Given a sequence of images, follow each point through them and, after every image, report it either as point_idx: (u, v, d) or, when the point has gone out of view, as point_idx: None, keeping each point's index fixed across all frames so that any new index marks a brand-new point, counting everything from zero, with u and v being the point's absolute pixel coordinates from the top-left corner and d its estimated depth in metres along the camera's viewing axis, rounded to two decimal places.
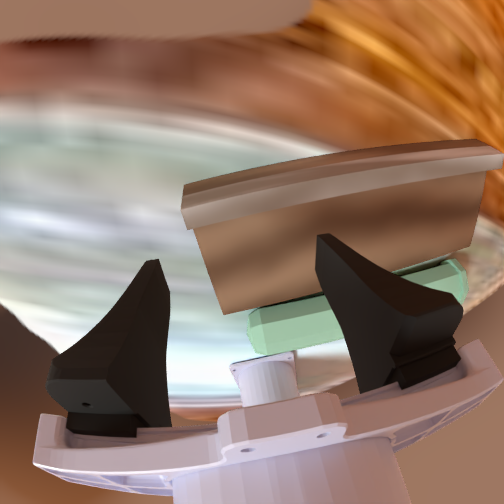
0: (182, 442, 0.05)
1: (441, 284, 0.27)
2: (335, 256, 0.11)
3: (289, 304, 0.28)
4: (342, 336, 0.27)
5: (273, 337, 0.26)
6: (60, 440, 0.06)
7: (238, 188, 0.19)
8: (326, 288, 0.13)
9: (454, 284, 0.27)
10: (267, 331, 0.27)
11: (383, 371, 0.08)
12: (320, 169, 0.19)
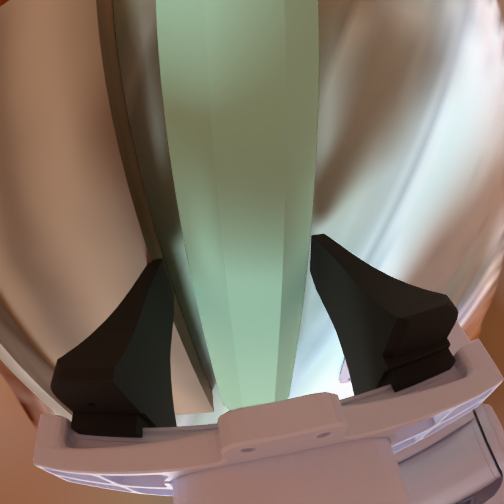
0: (182, 442, 0.05)
1: (170, 62, 0.07)
2: (329, 257, 0.11)
3: None
4: (269, 359, 0.13)
5: None
6: (60, 440, 0.06)
7: None
8: (321, 289, 0.13)
9: None
10: (230, 408, 0.18)
11: (376, 373, 0.08)
12: None
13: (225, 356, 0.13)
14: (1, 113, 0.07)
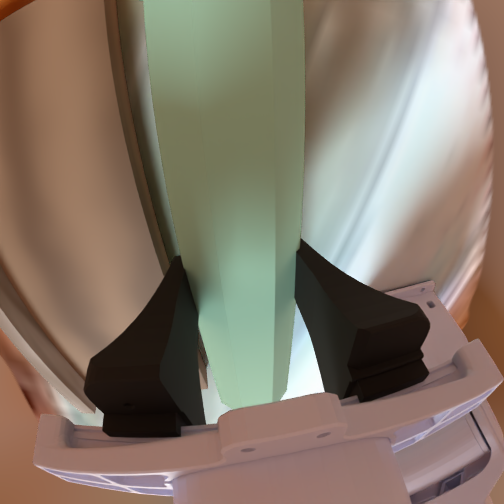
0: (182, 442, 0.05)
1: (160, 69, 0.07)
2: (301, 262, 0.11)
3: None
4: (265, 354, 0.14)
5: (236, 408, 0.18)
6: (60, 440, 0.06)
7: None
8: (296, 294, 0.13)
9: (166, 2, 0.05)
10: (229, 405, 0.18)
11: (343, 383, 0.08)
12: None
13: (222, 354, 0.14)
14: (19, 104, 0.09)
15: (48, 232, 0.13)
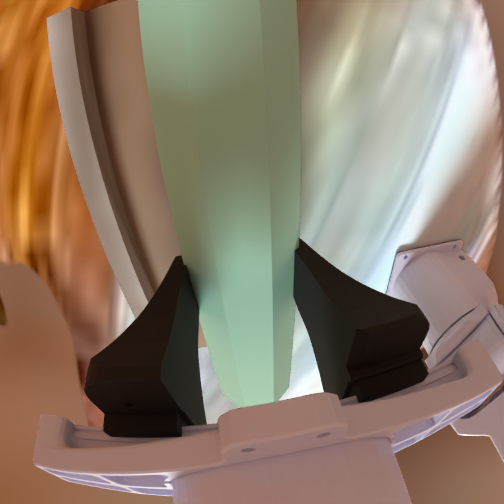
0: (182, 442, 0.05)
1: (155, 68, 0.07)
2: (300, 262, 0.11)
3: None
4: (265, 350, 0.14)
5: (238, 403, 0.18)
6: (60, 440, 0.06)
7: None
8: (295, 294, 0.13)
9: (159, 4, 0.05)
10: (231, 400, 0.19)
11: (342, 383, 0.08)
12: None
13: (222, 348, 0.14)
14: None
15: None
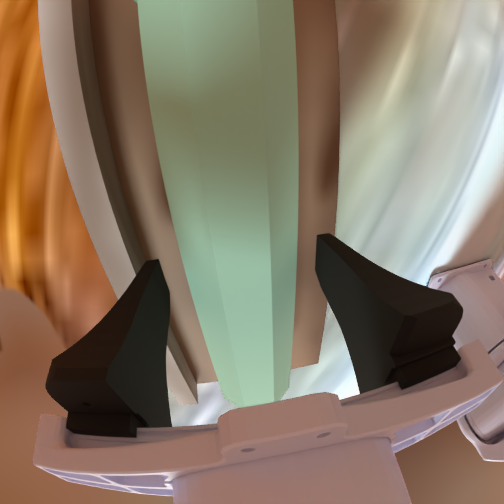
0: (182, 442, 0.05)
1: (154, 68, 0.07)
2: (334, 256, 0.11)
3: None
4: (264, 349, 0.14)
5: (238, 403, 0.18)
6: (60, 440, 0.06)
7: None
8: (326, 288, 0.13)
9: (158, 4, 0.06)
10: (231, 401, 0.18)
11: (383, 371, 0.08)
12: None
13: (222, 348, 0.14)
14: None
15: None
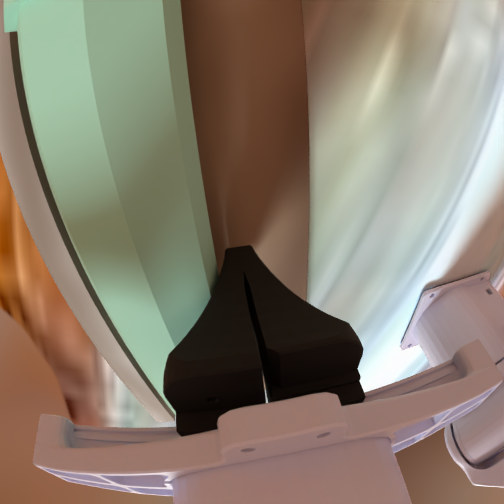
0: (182, 442, 0.05)
1: (28, 109, 0.06)
2: (243, 271, 0.11)
3: None
4: None
5: None
6: (60, 440, 0.06)
7: None
8: None
9: (20, 45, 0.04)
10: None
11: (271, 399, 0.08)
12: None
13: (149, 378, 0.13)
14: None
15: None
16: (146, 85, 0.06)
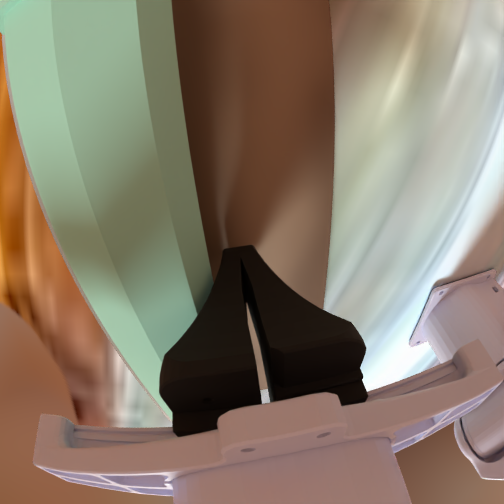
0: (182, 442, 0.05)
1: None
2: (245, 270, 0.11)
3: None
4: None
5: None
6: (60, 440, 0.06)
7: None
8: (247, 302, 0.13)
9: None
10: None
11: (274, 399, 0.08)
12: None
13: None
14: (207, 47, 0.09)
15: (210, 209, 0.13)
16: (117, 89, 0.05)
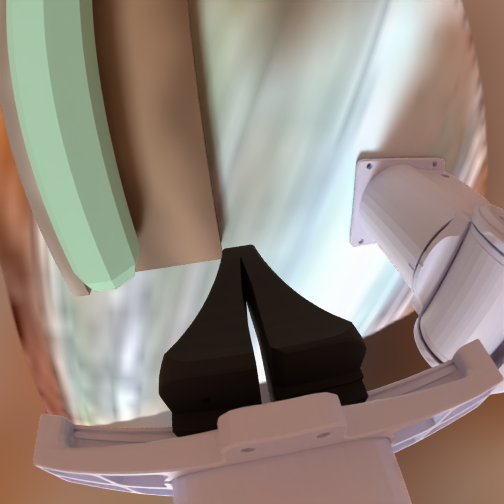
0: (182, 442, 0.05)
1: None
2: (245, 270, 0.11)
3: None
4: (62, 164, 0.12)
5: (77, 271, 0.16)
6: (60, 440, 0.06)
7: None
8: (248, 302, 0.13)
9: None
10: (75, 272, 0.16)
11: (274, 399, 0.08)
12: None
13: (36, 170, 0.12)
14: None
15: (96, 45, 0.12)
16: None
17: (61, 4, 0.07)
